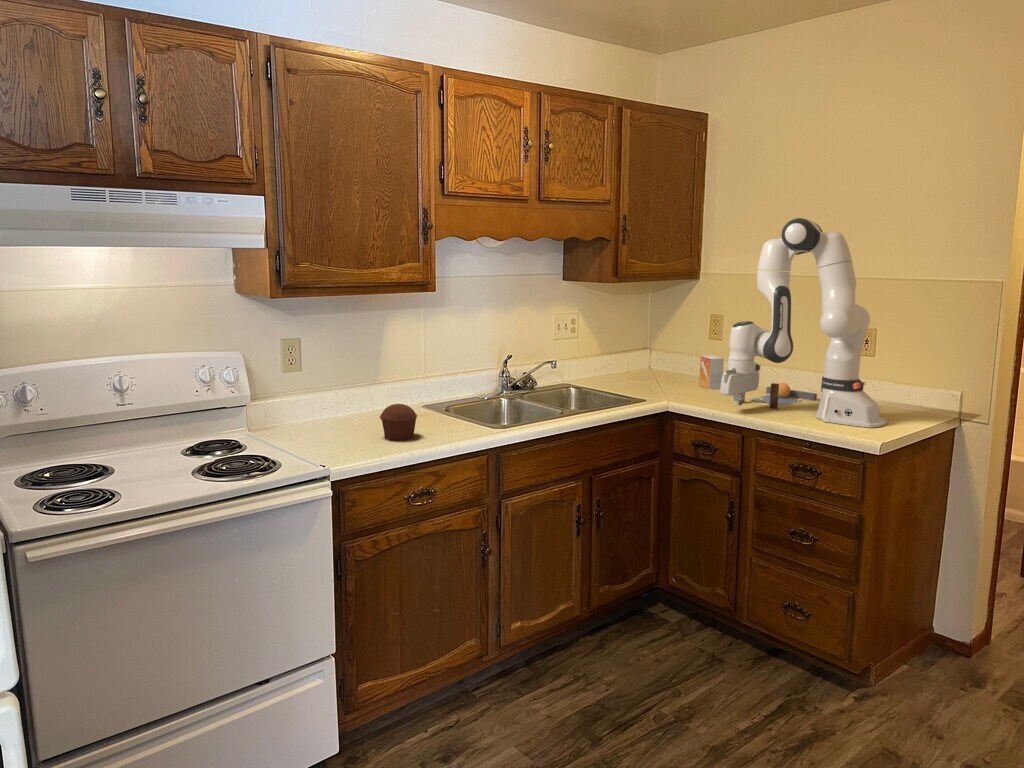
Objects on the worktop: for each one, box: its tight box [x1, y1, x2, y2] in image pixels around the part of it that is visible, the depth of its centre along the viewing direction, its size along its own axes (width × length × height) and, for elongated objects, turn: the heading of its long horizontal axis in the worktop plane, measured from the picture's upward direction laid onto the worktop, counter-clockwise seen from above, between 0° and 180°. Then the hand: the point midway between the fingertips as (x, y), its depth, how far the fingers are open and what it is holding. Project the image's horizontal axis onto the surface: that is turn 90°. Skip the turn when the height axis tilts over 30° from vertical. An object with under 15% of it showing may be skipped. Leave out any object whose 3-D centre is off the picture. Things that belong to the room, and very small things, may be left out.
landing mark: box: [749, 394, 803, 406], centre depth 298 cm, size 14×14×1 cm
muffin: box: [379, 403, 418, 442], centre depth 236 cm, size 12×11×10 cm
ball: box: [778, 382, 791, 398], centre depth 302 cm, size 6×6×6 cm
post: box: [768, 382, 779, 410], centre depth 283 cm, size 3×3×9 cm
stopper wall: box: [765, 386, 818, 401], centre depth 305 cm, size 20×2×2 cm, turn 43°
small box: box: [698, 355, 724, 390], centre depth 323 cm, size 8×6×13 cm
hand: (738, 405), depth 279 cm, fingers closed
